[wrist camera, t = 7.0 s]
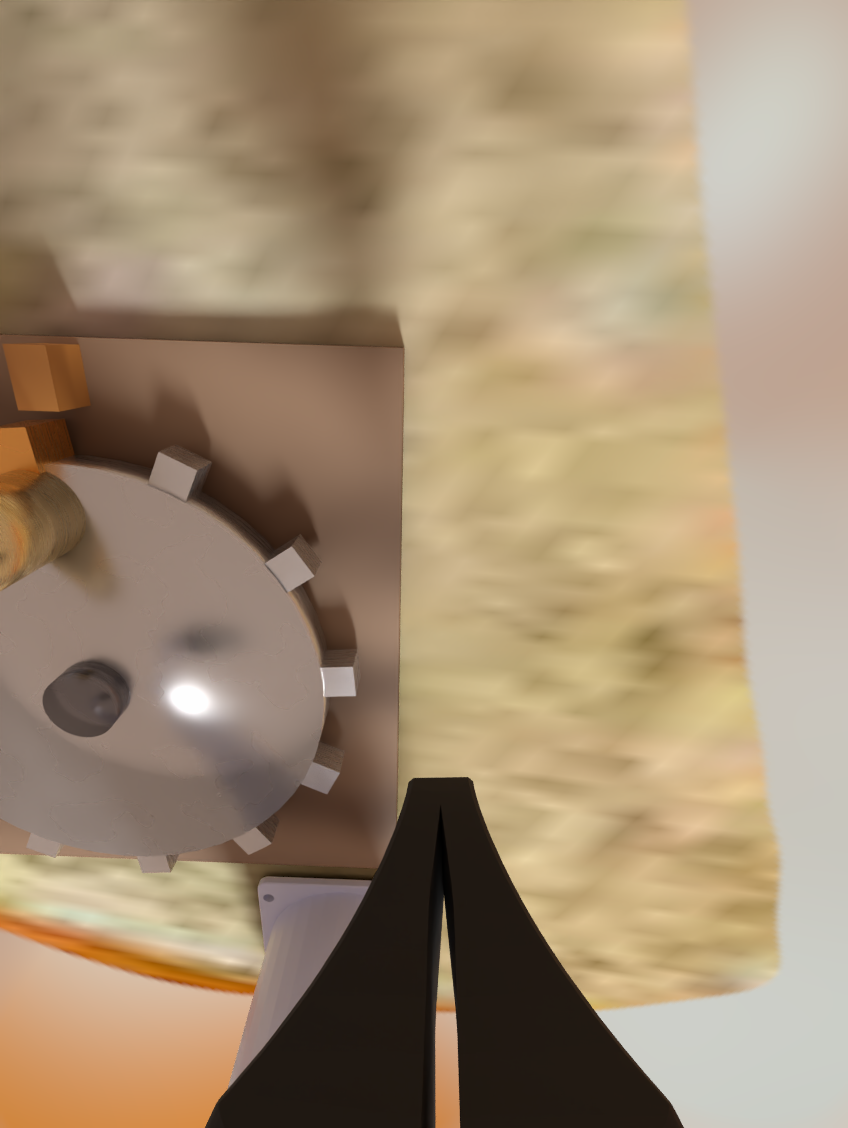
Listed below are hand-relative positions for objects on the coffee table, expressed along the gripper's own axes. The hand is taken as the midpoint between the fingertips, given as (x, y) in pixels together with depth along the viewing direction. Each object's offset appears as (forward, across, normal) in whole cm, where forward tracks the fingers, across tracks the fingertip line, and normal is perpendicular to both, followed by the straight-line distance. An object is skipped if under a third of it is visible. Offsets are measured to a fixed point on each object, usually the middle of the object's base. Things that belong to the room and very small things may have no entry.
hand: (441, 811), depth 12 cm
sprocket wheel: (+8, +12, +1) cm, 15 cm away
